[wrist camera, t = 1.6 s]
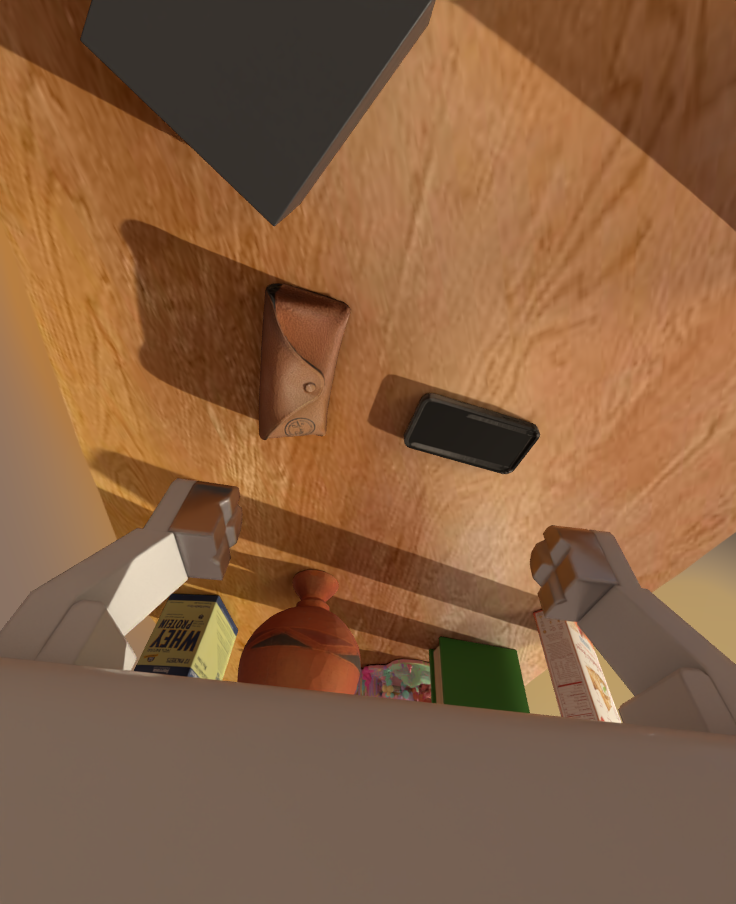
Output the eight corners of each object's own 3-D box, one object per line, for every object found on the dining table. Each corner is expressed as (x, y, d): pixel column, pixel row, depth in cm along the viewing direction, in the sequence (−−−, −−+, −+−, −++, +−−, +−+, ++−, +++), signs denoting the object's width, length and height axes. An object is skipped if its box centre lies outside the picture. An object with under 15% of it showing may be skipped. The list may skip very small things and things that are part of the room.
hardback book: (428, 650, 90) (435, 786, 71) (440, 636, 85) (450, 778, 67) (501, 663, 91) (525, 799, 73) (516, 650, 87) (546, 792, 68)
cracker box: (590, 632, 79) (637, 761, 64) (560, 639, 82) (598, 764, 66) (562, 602, 73) (607, 738, 57) (531, 611, 75) (566, 743, 60)
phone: (509, 476, 51) (401, 445, 49) (507, 470, 52) (401, 440, 50) (544, 430, 46) (425, 395, 44) (541, 425, 47) (425, 389, 45)
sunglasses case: (328, 439, 50) (292, 464, 46) (287, 414, 52) (249, 435, 48) (353, 301, 39) (309, 316, 34) (300, 275, 41) (251, 286, 36)
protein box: (218, 594, 79) (186, 678, 67) (239, 630, 89) (214, 708, 77) (169, 592, 80) (129, 675, 68) (195, 628, 90) (164, 705, 78)
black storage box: (269, -221, 21) (205, -382, 14) (429, 23, 27) (438, -9, 20) (156, 57, 29) (78, 39, 22) (299, 204, 34) (274, 227, 27)
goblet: (357, 549, 66) (340, 723, 47) (373, 607, 78) (364, 763, 59) (250, 553, 69) (193, 718, 50) (281, 608, 81) (245, 758, 62)
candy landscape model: (412, 701, 112) (413, 740, 105) (338, 681, 105) (333, 721, 98) (467, 674, 97) (472, 717, 90) (384, 648, 90) (383, 693, 83)
